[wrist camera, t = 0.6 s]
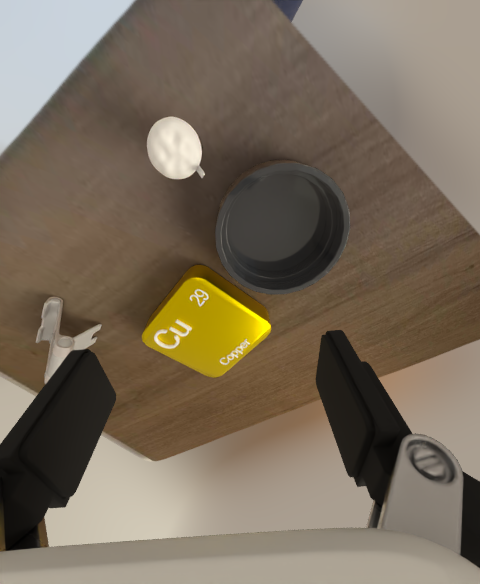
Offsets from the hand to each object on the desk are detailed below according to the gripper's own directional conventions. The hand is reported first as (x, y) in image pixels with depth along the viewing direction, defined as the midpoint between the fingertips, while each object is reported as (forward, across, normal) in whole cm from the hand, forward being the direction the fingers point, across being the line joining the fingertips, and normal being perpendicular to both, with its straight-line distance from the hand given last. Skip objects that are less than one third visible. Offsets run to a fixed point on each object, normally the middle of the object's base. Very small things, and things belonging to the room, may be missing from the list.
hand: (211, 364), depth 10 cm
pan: (+25, -7, +2) cm, 26 cm away
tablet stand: (+25, +26, +16) cm, 40 cm away
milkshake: (+25, +3, -7) cm, 27 cm away
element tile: (+25, +4, +16) cm, 31 cm away
